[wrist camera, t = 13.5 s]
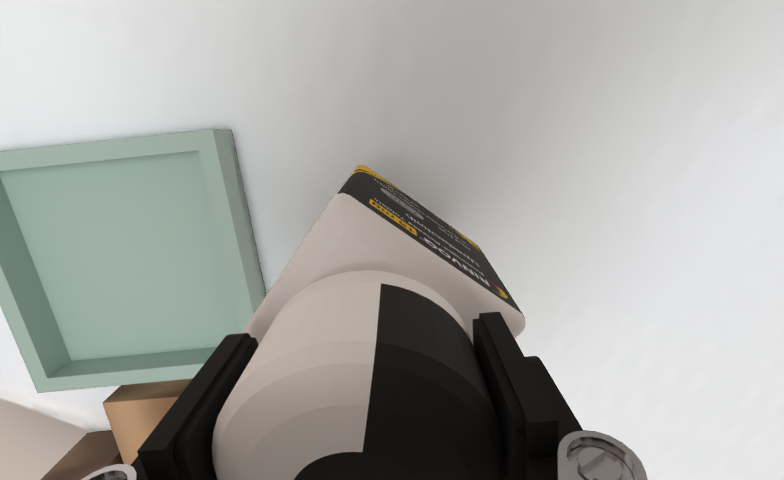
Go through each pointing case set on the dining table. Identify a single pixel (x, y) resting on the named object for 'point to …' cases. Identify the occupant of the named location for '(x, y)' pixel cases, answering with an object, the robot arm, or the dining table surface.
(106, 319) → the tray
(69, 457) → the dark brown wooden block
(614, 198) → the dining table surface
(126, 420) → the tan wooden block
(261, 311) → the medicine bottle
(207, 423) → the robot arm
